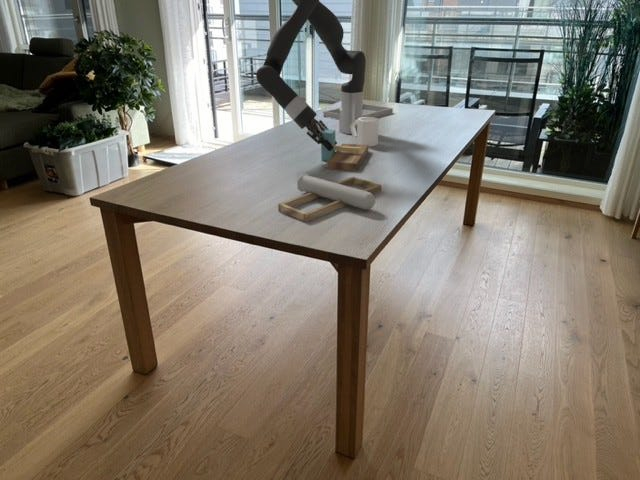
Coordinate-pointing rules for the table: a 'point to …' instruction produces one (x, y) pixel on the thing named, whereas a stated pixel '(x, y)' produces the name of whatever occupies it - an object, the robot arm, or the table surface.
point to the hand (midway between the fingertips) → (333, 147)
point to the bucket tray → (379, 109)
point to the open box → (347, 158)
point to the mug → (366, 131)
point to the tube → (336, 192)
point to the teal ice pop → (331, 138)
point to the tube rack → (287, 205)
